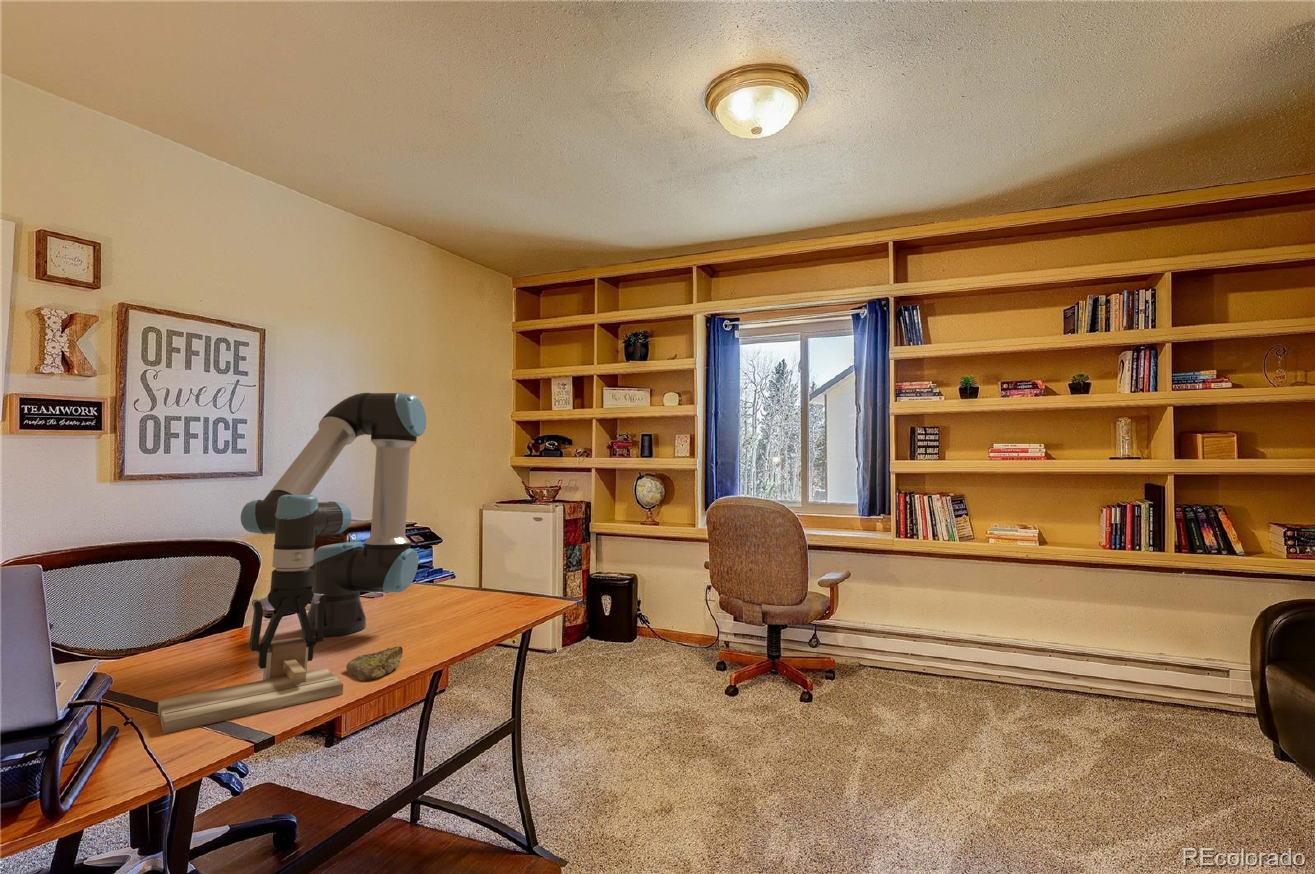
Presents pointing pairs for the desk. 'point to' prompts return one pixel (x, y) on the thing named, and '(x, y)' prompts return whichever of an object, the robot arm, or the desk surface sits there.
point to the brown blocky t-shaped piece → (288, 659)
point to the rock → (375, 663)
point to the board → (244, 700)
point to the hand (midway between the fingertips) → (284, 680)
